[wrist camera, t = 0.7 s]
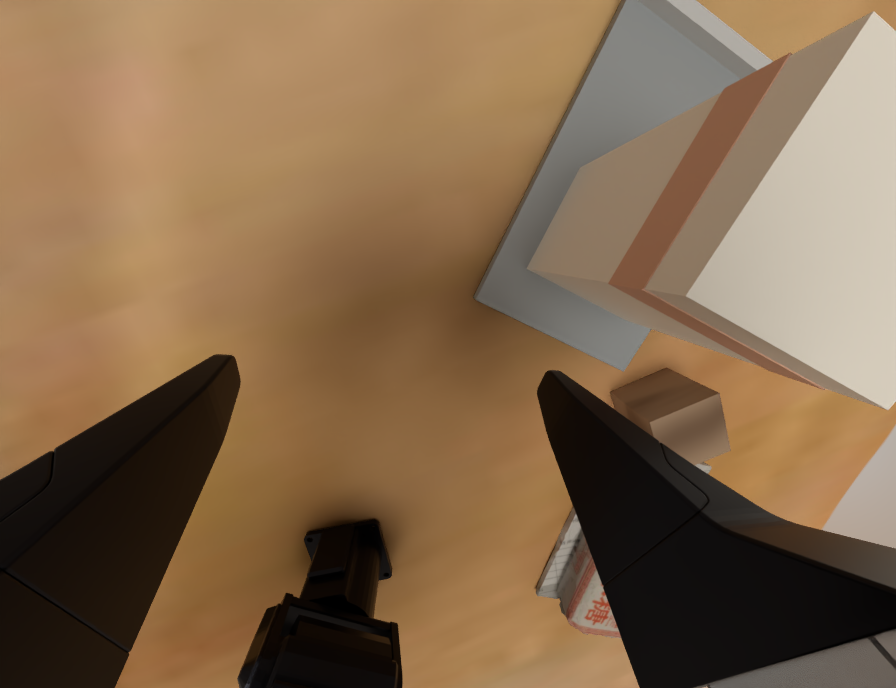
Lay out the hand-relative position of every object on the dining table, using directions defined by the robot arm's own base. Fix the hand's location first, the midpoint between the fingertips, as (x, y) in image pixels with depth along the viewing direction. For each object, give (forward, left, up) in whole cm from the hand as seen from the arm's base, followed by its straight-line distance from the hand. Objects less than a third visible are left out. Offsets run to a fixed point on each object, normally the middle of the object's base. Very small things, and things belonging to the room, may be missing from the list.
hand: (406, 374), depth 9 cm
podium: (+4, -15, -15) cm, 21 cm away
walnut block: (-12, -17, -15) cm, 26 cm away
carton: (+2, -13, -13) cm, 19 cm away
